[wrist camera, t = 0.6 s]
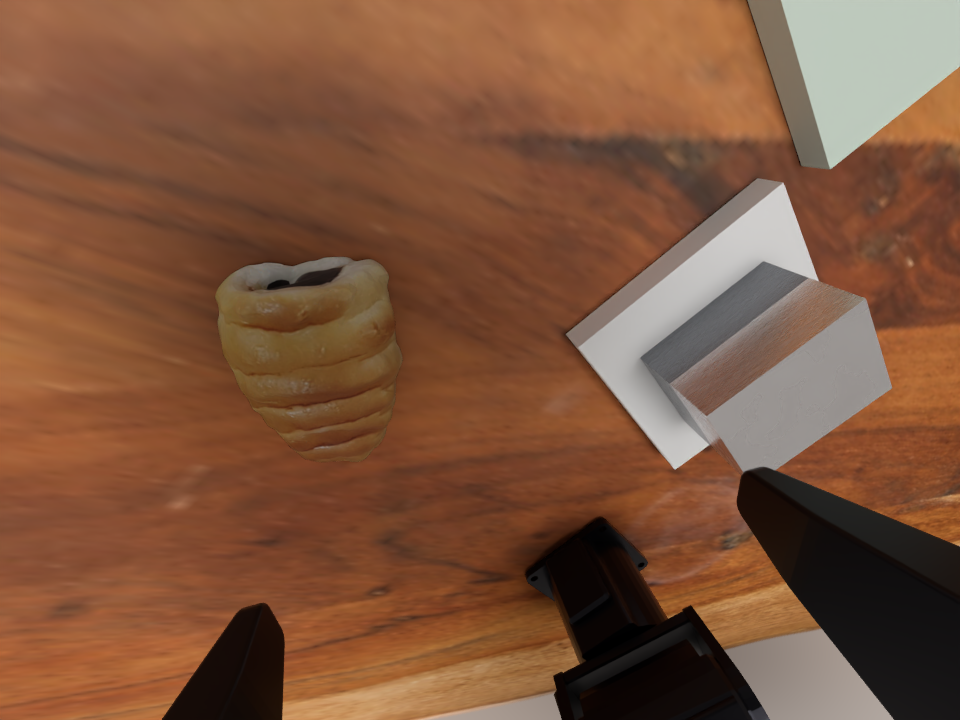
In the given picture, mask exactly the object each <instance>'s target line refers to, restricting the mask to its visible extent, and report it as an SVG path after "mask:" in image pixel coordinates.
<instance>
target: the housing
mask: <svg viewBox="0 0 960 720" xmlns="http://www.w3.org/2000/svg"><path fill="white" fill-rule="evenodd" d="M640 359H641V360H642V361H643V363H644V364H645V366H646V367H647V369H648V370H649V371H650V373H651V374H652V376H653V377H654V379H655V380H656V381H657V383H658V384H659V386H660V387H661V388H662V390H663V391H664V393H665V394H666V396H667V397H668V398H669V400H670V401H671V403H672V404H673V406H674V407H675V408H676V410H677V411H678V413H679V414H680V415H681V417H682V418H683V420H684V421H685V422H686V423H687V424H688V425H689V426H690V427H691V428H692V429H693V430H694V431H695V432H696V433H697V434H698V435H699V436H700V437H701V438H703V439H704V440H705V441H706V442H707V443H708V444H709V445H710V446H711V447H712V448H713V449H714V450H715V451H716V452H717V453H718V454H719V455H720V456H721V457H722V458H723V459H725V460H726V461H727V462H728V463H729V464H730V465H731V466H732V467H733V468H734V469H735V470H736V471H737V472H738V473H739V474H740V475H742V473H743V472H744V471H746V470H750V469H753V468H757V467H768V468H771V469H773V470H776V469H777V468H779V467H780V466H782V465H783V464H785V463H786V462H787V461H789V460H790V459H792V458H793V457H794V456H796V455H797V454H799V453H800V452H802V451H803V450H804V449H806V448H807V447H809V446H810V445H812V444H813V443H814V442H816V441H817V440H819V439H820V438H822V437H823V436H824V435H826V434H827V433H829V432H830V431H832V430H833V429H834V428H836V427H837V426H839V425H840V424H842V423H843V422H844V421H846V420H847V419H849V418H850V417H852V416H853V415H854V414H856V413H857V412H859V411H860V410H861V409H863V408H864V407H866V406H867V405H869V404H870V403H871V402H873V401H874V400H876V399H877V398H879V397H880V396H881V395H883V394H884V393H886V392H887V391H889V390H890V389H891V388H892V386H891V383H890V379H889V376H888V373H887V369H886V366H885V362H884V359H883V356H882V352H881V349H880V345H879V342H878V339H877V335H876V332H875V328H874V325H873V322H872V318H871V315H870V311H869V308H868V305H867V301H866V299H865V298H863V297H860V296H857V295H854V294H852V293H849V292H846V291H844V290H841V289H838V288H835V287H833V286H830V285H827V284H824V283H822V282H819V281H816V280H813V279H811V278H808V277H805V276H803V275H800V274H797V273H794V272H792V271H789V270H786V269H783V268H781V267H778V266H775V265H773V264H770V263H767V262H764V261H763V262H762V263H761V264H759V265H758V266H757V267H755V268H754V269H753V270H752V271H750V272H749V273H748V274H746V275H745V276H744V277H743V278H741V279H740V280H739V281H737V282H736V283H735V284H734V285H732V286H731V287H730V288H728V289H727V290H726V291H725V292H723V293H722V294H721V295H720V296H718V297H717V298H716V299H714V300H713V301H712V302H711V303H709V304H708V305H707V306H705V307H704V308H703V309H702V310H700V311H699V312H698V313H696V314H695V315H694V316H693V317H691V318H690V319H689V320H688V321H686V322H685V323H684V324H682V325H681V326H680V327H679V328H677V329H676V330H675V331H673V332H672V333H671V334H670V335H668V336H667V337H666V338H664V339H663V340H662V341H661V342H659V343H658V344H657V345H655V346H654V347H653V348H652V349H650V350H649V351H648V352H647V353H645V354H644V355H643V356H641V357H640Z"/></svg>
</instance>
